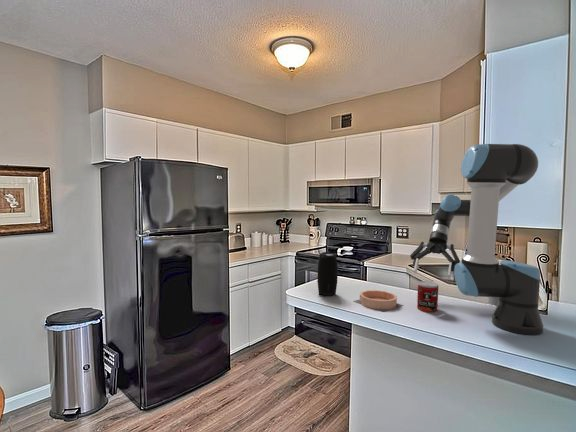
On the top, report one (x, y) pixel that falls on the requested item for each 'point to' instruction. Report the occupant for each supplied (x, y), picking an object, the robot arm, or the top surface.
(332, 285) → the portable speaker
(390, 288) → the top surface
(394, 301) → the bowl
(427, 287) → the canned food
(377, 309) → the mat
